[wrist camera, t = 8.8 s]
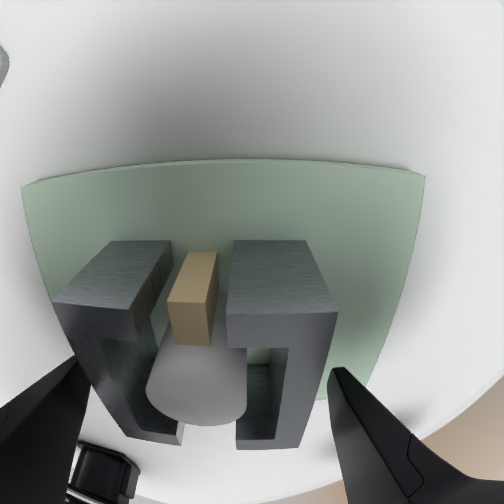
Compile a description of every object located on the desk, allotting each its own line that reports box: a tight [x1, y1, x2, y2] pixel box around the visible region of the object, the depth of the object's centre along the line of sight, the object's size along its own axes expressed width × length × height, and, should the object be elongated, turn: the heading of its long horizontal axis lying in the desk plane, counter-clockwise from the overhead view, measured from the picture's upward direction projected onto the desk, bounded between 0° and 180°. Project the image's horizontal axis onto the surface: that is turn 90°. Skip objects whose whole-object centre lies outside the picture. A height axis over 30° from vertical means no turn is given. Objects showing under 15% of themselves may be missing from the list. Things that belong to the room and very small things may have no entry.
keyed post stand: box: [21, 159, 426, 426], centre depth 9 cm, size 16×12×5 cm
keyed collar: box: [51, 240, 339, 450], centre depth 9 cm, size 7×7×4 cm
